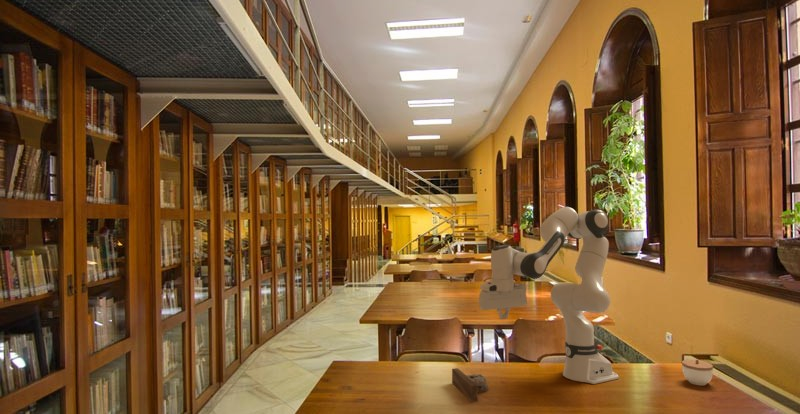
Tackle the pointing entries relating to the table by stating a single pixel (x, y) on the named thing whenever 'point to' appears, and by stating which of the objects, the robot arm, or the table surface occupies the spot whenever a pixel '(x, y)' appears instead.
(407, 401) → the table surface
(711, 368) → the lidded jar
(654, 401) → the table surface
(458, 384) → the board
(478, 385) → the stone
